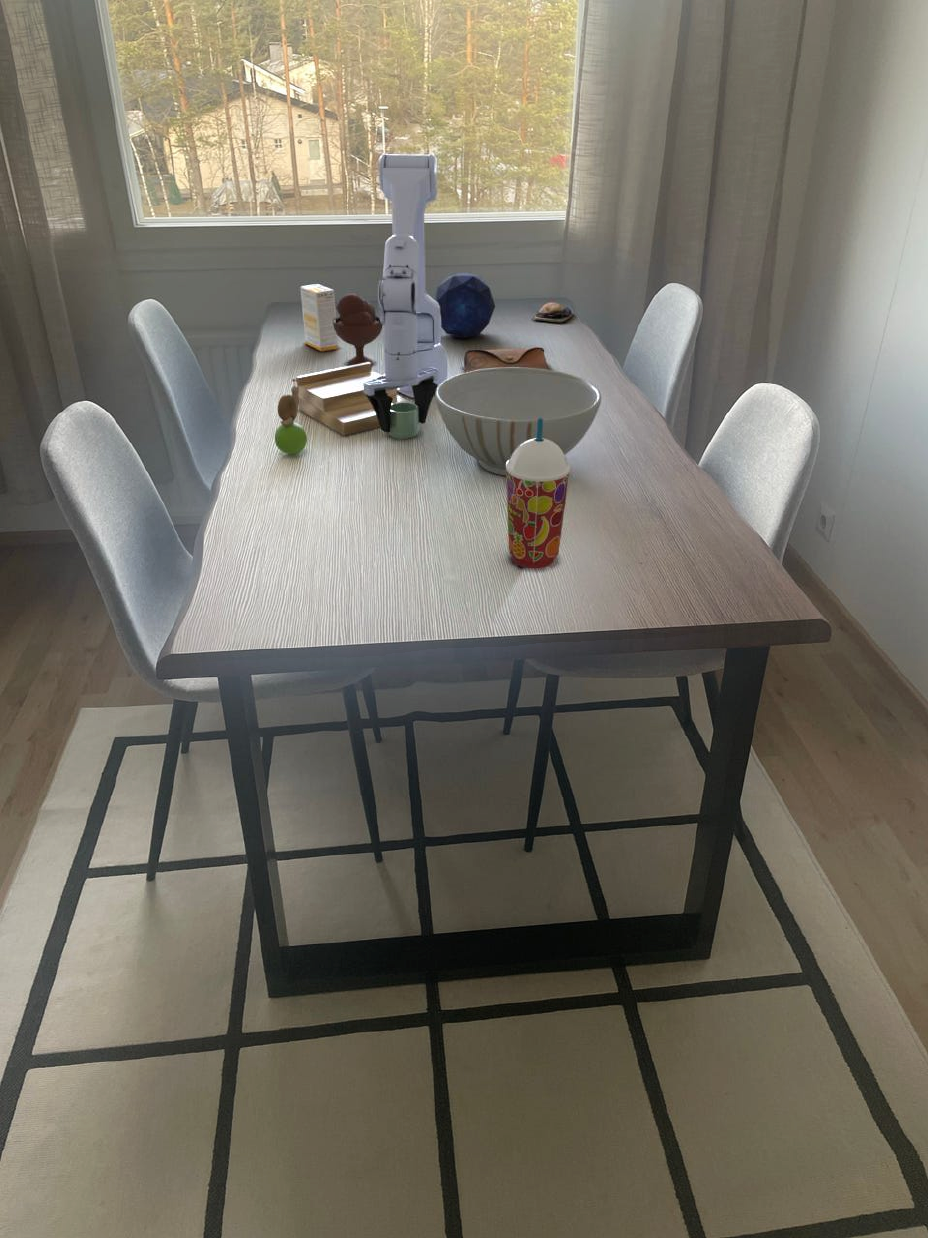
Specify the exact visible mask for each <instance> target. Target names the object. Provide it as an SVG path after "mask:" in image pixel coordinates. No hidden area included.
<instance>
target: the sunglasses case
mask: <svg viewBox="0 0 928 1238" xmlns="http://www.w3.org/2000/svg"><path fill="white" fill-rule="evenodd" d="M505 367H522V368H537V369H546V370H550V369H549V366H548V362H547V360H546V355H545V349H544V348H543V347H538V346H537V347H535V346H534V347H530V348H502V349H500V348H499V349H469V350H467V351H466V352H465V353H464V355H463V368H464V370H465V373H466V372H470V371H475V370H482V369H490V368H505Z"/></svg>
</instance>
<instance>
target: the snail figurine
mask: <svg viewBox="0 0 928 1238" xmlns="http://www.w3.org/2000/svg"><path fill="white" fill-rule="evenodd" d="M291 381H292V382H293V383H295V382H296V385H293V386H291V388H290V392H291V394H290V393H285V394H283V395H282V396H281V397H280V398H279V400H278V404H277V414H278V417H279V419H281V421H280V425H279V426H278V427H277V429H276V430H275V433H274V443H275V445H276V447H277V448H278V450H280V452H281V453H283V454H286V455H297V454H299V453H301V452H302V451H303V450H304V449H305V447H306V445H307V442H308V435H307V432H306V430H305V428H304V427H303V426H302V425H300V424H299V423H297V422H294V421H295V420H296V418H297V417H298V414H299V396H298V393H299V388H298V381H299V380H298V379H296V378H292V379H291Z"/></svg>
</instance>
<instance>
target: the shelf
mask: <svg viewBox="0 0 928 1238" xmlns="http://www.w3.org/2000/svg"><path fill="white" fill-rule="evenodd" d="M382 375H383V374H380V373H377V372H376V371H373V370H372V365H371V363H370V362H366V363H361V364H356V365H351V366H348V365H345V366H342V367H337V368H332V369H326V370H322V371H318V372H317V371H316V372H312V373H308V374H307V373H306V374H303V375H298V376H295V380H296V379H298V380H299V381H298V388H299V393H298V396H299V407H298V411H301V412H302V413H304V414H305V415H307V416H309V417H311V418H313V419H314V420H316V421H318V422H320V423H321V424H322V425H324V426H327V427H328V428H330V429H332V430H334V431H335V432H337V433H339V434H340V435H342V436H344V437H345V436H350V435H355V434H357V433H358V434H359V433H362V432H365V431H371V430H373V429H374V430H375V429H378V428H380V425H379V421H378V418H377V415H376V413H375V410H374V408H373V406H372V404H371V403H370V401H369V399H368V398H367V396H366V394H365V393H364V389H363V382H366V381H370V380H372V379H375V378H377V377H379V376H382ZM386 393H387V394H388V396H390V397H392V398H393V400H392V404H393V403H399V402H408V403H413V404H415V402H413V401H411V400H408V399H406V398H405V397H402V396H400V395H398V391H397V388H396V389H392V390H387V391H386Z"/></svg>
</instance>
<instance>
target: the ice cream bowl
mask: <svg viewBox="0 0 928 1238" xmlns="http://www.w3.org/2000/svg"><path fill="white" fill-rule="evenodd" d="M335 309H336V310H337V313H338V315H339V316H336V318H334V319H333V326H334V329H335V331H336V333H337V337H338V338H340V340H342V341H343V342H345V343H347V344H349V345H352V346H354V349H355V355H354V357H352V358H350V359H349V360H348V362H347V366H351V365H356V364H361V363H366V362H370V363H371V366H373V360H372V359H370V358H369V357H368V356H366V355H365V353H364V348H365V346H366V345H368V344H371V343H372V342H373V341H375V340H377V338H378V337H379V336H380V334H381V332H382V331H383V324H381V316H379V315H376V313H377V312H376V307H375V306H374V305H373V304H372V303H370V302H369V301H368V300H366V299H364V298H363V297H361V295H359V294H358V293H347V294H344V295H343V296H342V297H341V298H340V299H338V301H337V305H336V306H335Z"/></svg>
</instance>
